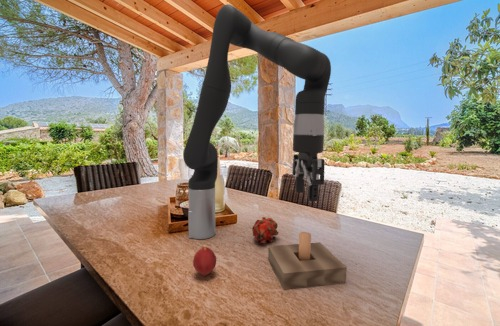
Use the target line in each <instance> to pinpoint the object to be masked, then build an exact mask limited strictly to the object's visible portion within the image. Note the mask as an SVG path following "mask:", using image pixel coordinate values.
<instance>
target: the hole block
mask: <svg viewBox="0 0 500 326" xmlns="http://www.w3.org/2000/svg"><path fill="white" fill-rule="evenodd" d="M267 247H268V251H267V255H268V256H267V257H268V258H267V261H268V262H269V264H270V265H271V266H270V267H271V268H272V270H273V271H274V274H275V277H276V278H277V279H278V282H279V284H280V286H281V288H282V290H290V289H293V290H294V289H298V288H300V289H301V288H309V287H317V286H318V287H319V286H328V285H329V286H330V285H339V284H346V282H347V271H348V269H347V268H348V267H347V266H346V265H345V264H344V263H343V262H342V261H341V260H340V259H339V258H338V257H336V255H334V254H333V253H332V252H331V251H330V250H329V249H328V248H327V247H326V246H325V245H324V244H323V243H321V242H320V241H319V242H311V249H310V260H304V261H299V260H298V259H299V243H295V244H292V243H290V244H282V245H281V244H280V245H279V244H278V245H268V246H267Z"/></svg>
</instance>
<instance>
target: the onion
mask: <svg viewBox="0 0 500 326" xmlns="http://www.w3.org/2000/svg"><path fill="white" fill-rule="evenodd" d="M192 264H193V268H194V269H195V271H196V272H197V273H199V274H201V275H202V276H207V275H208V274H210V273H211V272H212V271H213V270H215V267H216V265H217V257H216V254H215V252H214V251H213V250H212V249H211V248H209V247H208V246H207V245H203V246H202V247H201V248H200V249H198V250H197V252H195V254H194V256H193V260H192Z"/></svg>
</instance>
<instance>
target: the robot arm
mask: <svg viewBox="0 0 500 326" xmlns="http://www.w3.org/2000/svg"><path fill="white" fill-rule="evenodd" d="M230 44H231V45H232V46H234V47H239V48H243V49H247V50H251V51H254V52H256V53H258V54H259V55H260V56H262V57H264V58H265V59H266V60H268V61H269V62H271V63H273V64H275V65H276V66H279V67H282V68H284V69H285V70H286V71H288V72H289V73H291V74H292V75H293V76H296V77H297V78H300V79H302V80H304V85H303V89H302V90H300V91H298V92H297V94H295V95H296V96H295V101H294V102H295V104H294V105H295V106H294V110H295V111H294V121H293V127H292V128H293V129H292V130H293V133H292V151H293V152H294V153H297V154H293V158H292V159H293V160H292V175H293V176H294V179H295V192H296V193H298V194H299V193H304V191H305V179H307V183H308V186H307V187H308V192H307V200H308V201H310V202H318V200H319V186H323V185H325V159H324V158H319V157H318V154H321V153H323V152H324V141H325V140H324V139H325V97H326V94H327V91H328V87H329V82H330V78H331V74H332V65H331V61H330V58H329V57H328V55H326V54H325V53H323V52H321V51H320V50H318V49H317V48H314V47H312V46H310V45H307V44H304V43H301V42H297V41H296V40H294V39H292V38H290V37H288V36H286V35H283V34H281V33H278V32H275V31H267V30H263V29H261V28H260V27H259V26H258V25H257V24H255V23H254V22H253V21H252V20H251V19H250V18H249V17H248V16H247V15H246V14H245V13H243V12H242V11H241V10H239V9H238V8H237V7H235V6H234V5H232V4H231V3H230V4H228V3H227V4H224V5H223V6H221V8H220V9H219V10H218V11H217V14H216V17H215V20H214V23H213V30H212V35H211V43H210V49H209V55H208V61H207V65H206V70H205V73H204V78H203V81H202V85H201V89H200V92H199V93H200V94H199V97H198V98H199V99H198V103H197V107H196V111H195V114H194V115H195V116H194V117H193V122H192V126H191V129H190V133H189V135H188V138H187V141H186V143H185V146H184V150H183V161H184V163H185V165H186V167H188V169H191V170H194V171H193V174H192V175H191V177H190V178H189V179H188V182H187V183H188V188H187V189H188V212H187V213H188V214H187V216H188V219H187V220H188V238H189V239H195V240H205V239H209V238H212V237H214V236H216V181H217V179H218V165H219V163H218V160H219V157H218V155H219V154H218V150H217V147H216V146H215V145H214V144H213V143H212V142H211V137H212V135H213V132H214V129H215V128H216V126H217V124H218V122H219V121H220V120H221V119H222V116H223V115H224V113H225V112H226V109H227V106H228V104H229V100H230V96H231V90H232V80H231V75H230V74H231V73H230V69H229V61H228V59H229V57H228V56H229V49H230Z"/></svg>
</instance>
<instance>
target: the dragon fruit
mask: <svg viewBox="0 0 500 326" xmlns="http://www.w3.org/2000/svg"><path fill="white" fill-rule="evenodd" d="M251 228H252V229H251V231H252V235H253V237H254V239H256V241H257V244H259V245H260V244H266V243H267V242H269V243H272V242H273V241H275V240H276V239H277V238H278V237H277V236H278V235H279V233H280V232H279V231H278V230H277V229H278V222H276V221H275V220H274V219H273V218H272V217H267V218H266V217H262V218H261V219H257V220H256V221H255V223H254V224H253V226H252V227H251Z"/></svg>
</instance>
